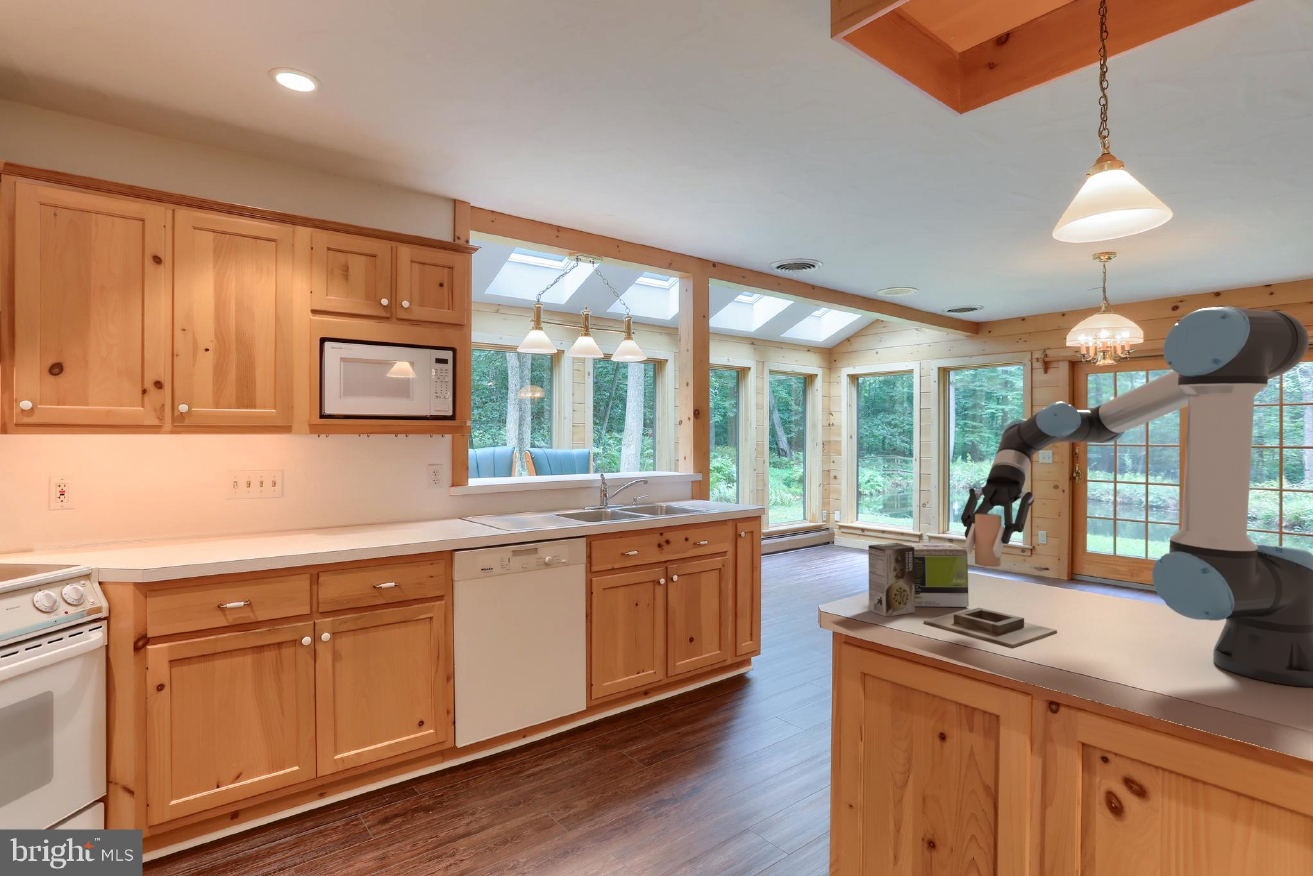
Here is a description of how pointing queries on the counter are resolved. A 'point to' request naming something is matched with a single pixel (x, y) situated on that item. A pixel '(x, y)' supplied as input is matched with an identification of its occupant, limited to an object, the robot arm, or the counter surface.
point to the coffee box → (891, 579)
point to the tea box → (940, 575)
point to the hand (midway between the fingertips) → (981, 551)
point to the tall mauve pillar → (986, 539)
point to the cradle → (991, 626)
